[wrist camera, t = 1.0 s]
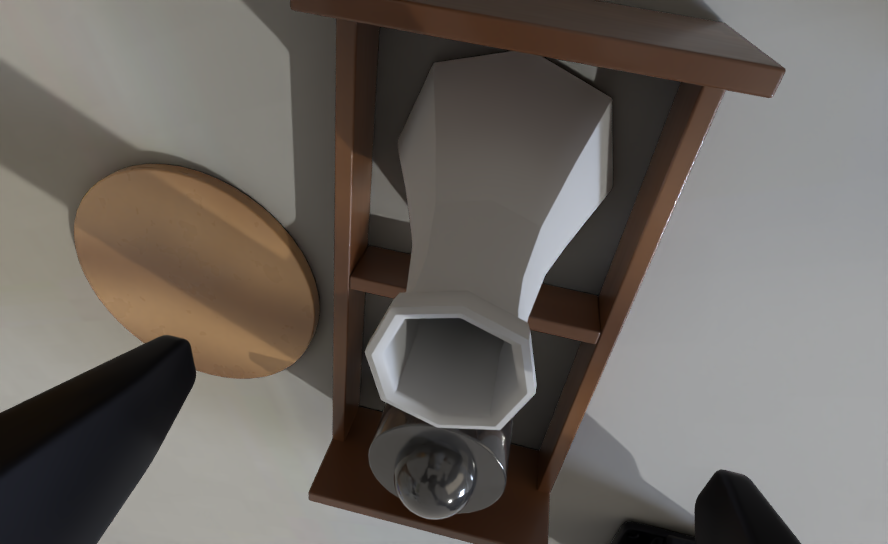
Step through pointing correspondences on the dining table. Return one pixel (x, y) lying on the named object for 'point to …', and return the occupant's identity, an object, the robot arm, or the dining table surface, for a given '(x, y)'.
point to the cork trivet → (197, 268)
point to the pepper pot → (439, 464)
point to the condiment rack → (555, 309)
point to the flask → (486, 230)
